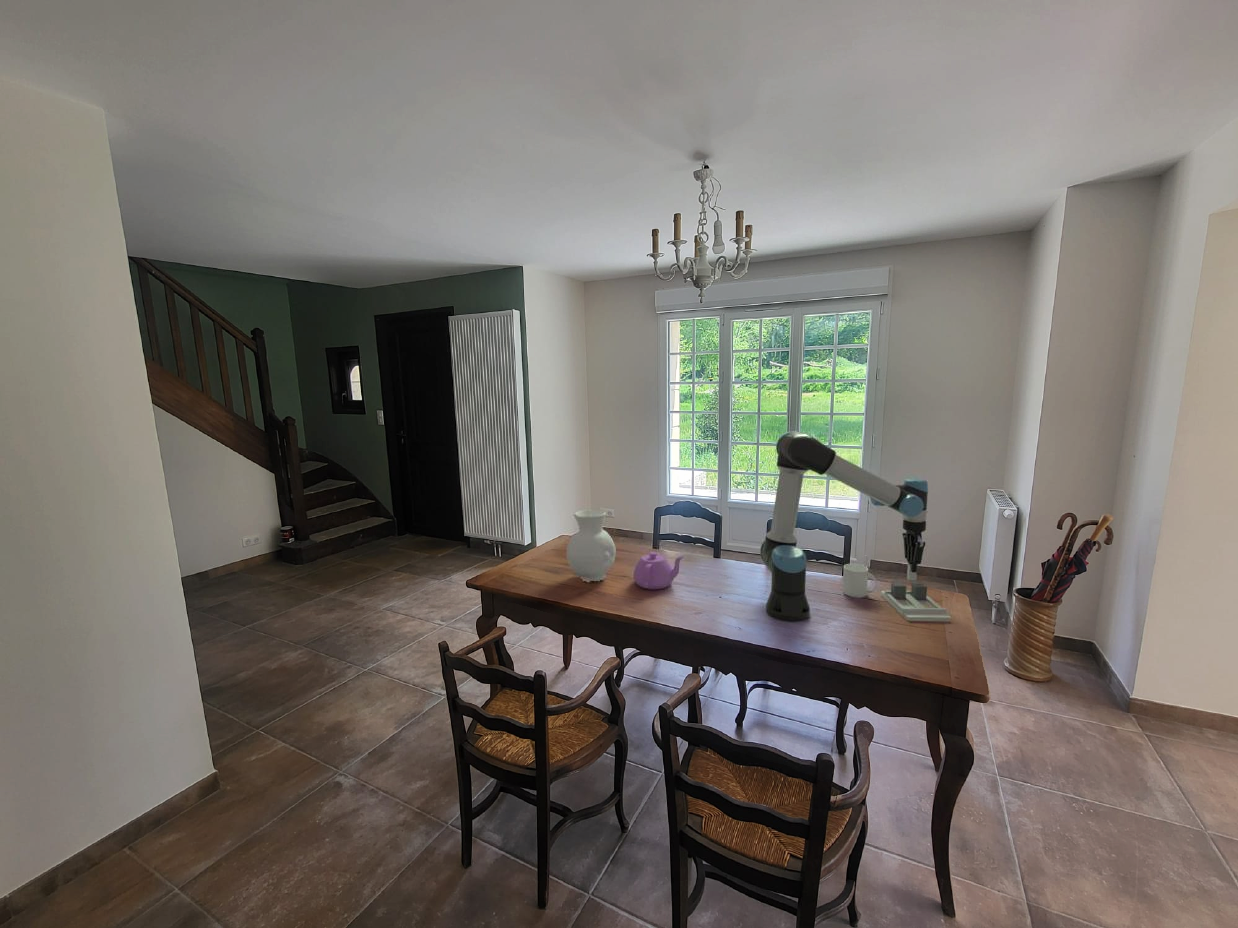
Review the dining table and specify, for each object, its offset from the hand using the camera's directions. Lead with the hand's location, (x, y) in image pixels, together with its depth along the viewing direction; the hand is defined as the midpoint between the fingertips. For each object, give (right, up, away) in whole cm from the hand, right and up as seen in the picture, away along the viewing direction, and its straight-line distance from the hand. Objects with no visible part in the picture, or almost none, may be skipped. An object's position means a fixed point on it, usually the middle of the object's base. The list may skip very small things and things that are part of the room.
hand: (911, 579), depth 192 cm
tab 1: (-8, -6, -4) cm, 11 cm away
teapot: (-95, -7, +20) cm, 98 cm away
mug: (-18, -7, +3) cm, 20 cm away
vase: (-124, -6, +28) cm, 127 cm away
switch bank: (-5, -8, -9) cm, 13 cm away
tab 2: (-1, -6, -6) cm, 8 cm away
